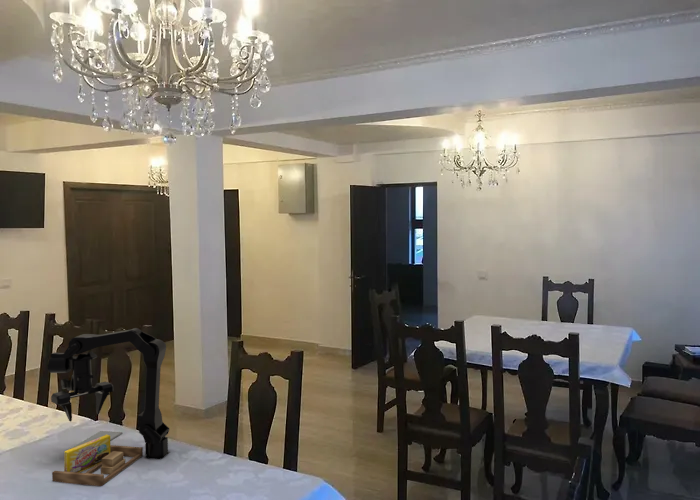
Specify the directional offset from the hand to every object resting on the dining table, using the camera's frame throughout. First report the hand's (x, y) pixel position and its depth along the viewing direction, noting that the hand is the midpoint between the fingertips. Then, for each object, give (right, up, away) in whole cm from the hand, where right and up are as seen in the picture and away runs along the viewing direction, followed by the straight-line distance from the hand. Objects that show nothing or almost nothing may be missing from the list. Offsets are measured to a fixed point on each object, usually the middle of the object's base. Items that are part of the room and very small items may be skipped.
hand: (84, 417), depth 191 cm
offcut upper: (+15, -11, -11) cm, 22 cm away
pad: (-1, -13, +12) cm, 17 cm away
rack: (+10, -13, -10) cm, 20 cm away
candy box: (+6, -14, -10) cm, 18 cm away
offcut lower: (+15, -14, -11) cm, 23 cm away
